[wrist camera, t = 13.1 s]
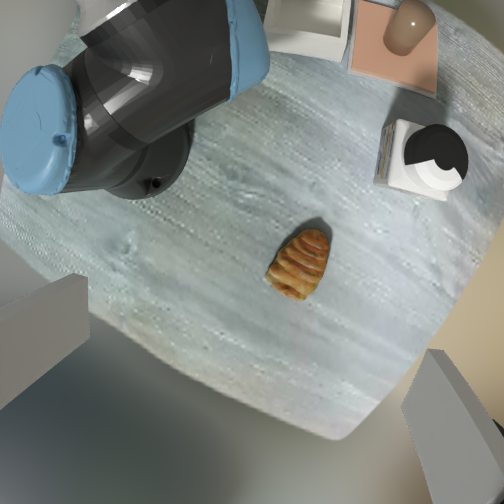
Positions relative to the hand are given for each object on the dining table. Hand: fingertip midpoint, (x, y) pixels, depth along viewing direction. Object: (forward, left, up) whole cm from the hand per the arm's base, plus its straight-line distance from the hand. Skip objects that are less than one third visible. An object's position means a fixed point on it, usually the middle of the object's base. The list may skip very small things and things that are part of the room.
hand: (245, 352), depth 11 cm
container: (+14, +12, -32) cm, 37 cm away
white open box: (-2, +29, -32) cm, 43 cm away
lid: (+11, +29, -31) cm, 44 cm away
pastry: (+3, -4, -32) cm, 33 cm away
